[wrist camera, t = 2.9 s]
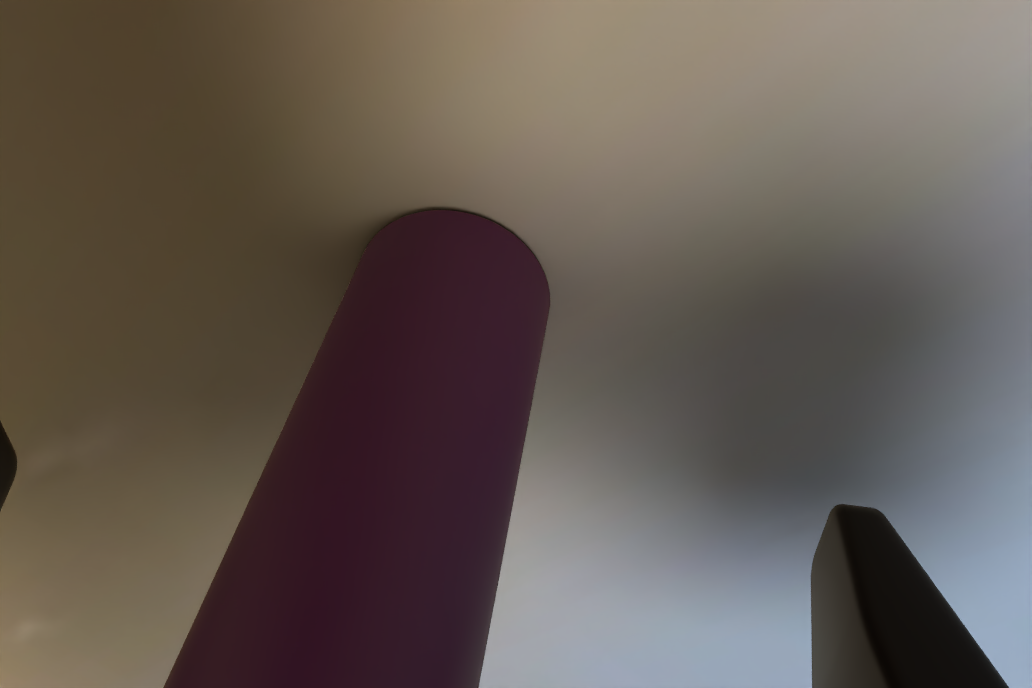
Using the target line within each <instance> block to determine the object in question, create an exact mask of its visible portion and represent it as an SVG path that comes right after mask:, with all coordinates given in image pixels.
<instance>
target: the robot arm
mask: <svg viewBox="0 0 1032 688" xmlns="http://www.w3.org/2000/svg"><path fill="white" fill-rule="evenodd" d="M16 469H17V457H16V453H15V450H14V448H13V446H12V444H11V442H10V440H9V438H8V436H7V434H6V432H5V430H4V428H3V425H2V423H1V421H0V511H1V509H2V506H3V504H4V502H5V499H6V497H7V495H8V492H9V490H10V487H11V485H12V483H13V480H14V478H15V474H16ZM811 625H812V688H1009V687H1008V686H1007V684H1006V683H1005V681H1004V680H1003V679H1002V677H1001V676H1000V674H999V673H998V672H997V670H996V669H995V667H994V666H993V665H992V663H991V662H990V661H989V659H988V658H987V656H986V655H985V654H984V652H983V651H982V649H981V648H980V647H979V645H978V644H977V643H976V641H975V640H974V638H973V637H972V636H971V634H970V633H969V631H968V630H967V629H966V627H965V626H964V625H963V623H962V622H961V620H960V619H959V618H958V616H957V615H956V613H955V612H954V611H953V609H952V608H951V607H950V605H949V604H948V602H947V601H946V600H945V598H944V597H943V595H942V594H941V593H940V591H939V590H938V589H937V587H936V586H935V584H934V583H933V582H932V580H931V579H930V577H929V576H928V575H927V573H926V572H925V570H924V569H923V568H922V566H921V565H920V564H919V562H918V561H917V559H916V558H915V557H914V555H913V554H912V552H911V551H910V550H909V548H908V547H907V546H906V544H905V543H904V541H903V540H902V539H901V537H900V536H899V534H898V533H897V532H896V530H895V529H894V528H893V526H892V525H891V523H890V522H889V521H888V519H887V518H886V517H885V515H884V514H883V513H882V512H880V511H879V510H877V509H875V508H871V507H862V506H854V505H846V504H838V505H836V506H834V508H833V509H832V510H831V511H830V514H829V516H828V519H827V522H826V524H825V527H824V530H823V532H822V535H821V538H820V541H819V543H818V546H817V549H816V551H815V554H814V558H813V563H812V570H811Z"/></svg>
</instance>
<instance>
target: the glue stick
mask: <svg viewBox="0 0 1032 688" xmlns="http://www.w3.org/2000/svg"><path fill="white" fill-rule="evenodd" d="M549 307H550V292H549V287H548V282H547V279H546V276H545V274H544V271H543V270H542V268H541V266H540V264H539V262H538V260H537V259H536V257H535V256H534V255H533V253H532V252H531V251H530V250H529V248H528V247H527V246H526V245H525V244H524V243H523V242H522V241H521V240H520V239H518V238H517V237H516V236H515V235H514V234H512V233H511V232H509V231H508V230H506V229H505V228H503V227H502V226H500V225H498V224H496V223H494V222H492V221H490V220H487V219H485V218H482V217H480V216H476V215H473V214H469V213H465V212H459V211H453V210H430V211H423V212H418V213H413V214H410V215H407V216H404V217H402V218H400V219H398V220H396V221H394V222H392V223H390V224H389V225H387V226H386V227H384V228H383V229H381V230H380V231H379V232H378V233H377V234H376V235H375V236H374V237H373V239H372V240H371V241H370V243H369V244H368V245H367V247H366V249H365V251H364V253H363V255H362V257H361V259H360V262H359V264H358V266H357V268H356V270H355V272H354V275H353V277H352V279H351V281H350V283H349V285H348V288H347V290H346V292H345V294H344V296H343V299H342V301H341V303H340V305H339V307H338V309H337V312H336V314H335V316H334V318H333V320H332V322H331V325H330V327H329V329H328V331H327V333H326V335H325V338H324V340H323V342H322V344H321V346H320V348H319V351H318V353H317V355H316V357H315V359H314V362H313V364H312V366H311V368H310V370H309V372H308V375H307V377H306V379H305V381H304V383H303V385H302V388H301V390H300V392H299V394H298V396H297V398H296V401H295V403H294V405H293V407H292V409H291V411H290V414H289V416H288V418H287V420H286V422H285V425H284V427H283V429H282V431H281V433H280V435H279V438H278V440H277V442H276V444H275V446H274V448H273V451H272V453H271V455H270V457H269V459H268V461H267V464H266V466H265V468H264V470H263V472H262V474H261V477H260V479H259V481H258V483H257V485H256V488H255V490H254V492H253V494H252V496H251V498H250V501H249V503H248V505H247V507H246V509H245V511H244V514H243V516H242V518H241V520H240V522H239V524H238V527H237V529H236V531H235V533H234V535H233V537H232V540H231V542H230V544H229V546H228V548H227V551H226V553H225V555H224V557H223V559H222V561H221V564H220V566H219V568H218V570H217V572H216V574H215V577H214V579H213V581H212V583H211V585H210V587H209V590H208V592H207V594H206V596H205V598H204V600H203V603H202V605H201V607H200V609H199V611H198V614H197V616H196V618H195V620H194V622H193V624H192V627H191V629H190V631H189V633H188V635H187V637H186V640H185V642H184V644H183V646H182V648H181V650H180V653H179V655H178V657H177V659H176V661H175V664H174V666H173V668H172V670H171V672H170V674H169V677H168V679H167V681H166V683H165V685H164V687H163V688H478V687H479V682H480V676H481V671H482V666H483V660H484V655H485V650H486V644H487V639H488V634H489V628H490V623H491V618H492V612H493V607H494V602H495V596H496V591H497V586H498V580H499V575H500V570H501V564H502V559H503V554H504V548H505V543H506V538H507V532H508V527H509V522H510V516H511V511H512V506H513V501H514V495H515V490H516V485H517V479H518V474H519V469H520V463H521V458H522V453H523V447H524V442H525V437H526V431H527V426H528V421H529V415H530V410H531V405H532V399H533V394H534V389H535V383H536V378H537V373H538V367H539V362H540V357H541V351H542V346H543V341H544V335H545V330H546V325H547V319H548V314H549Z"/></svg>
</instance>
